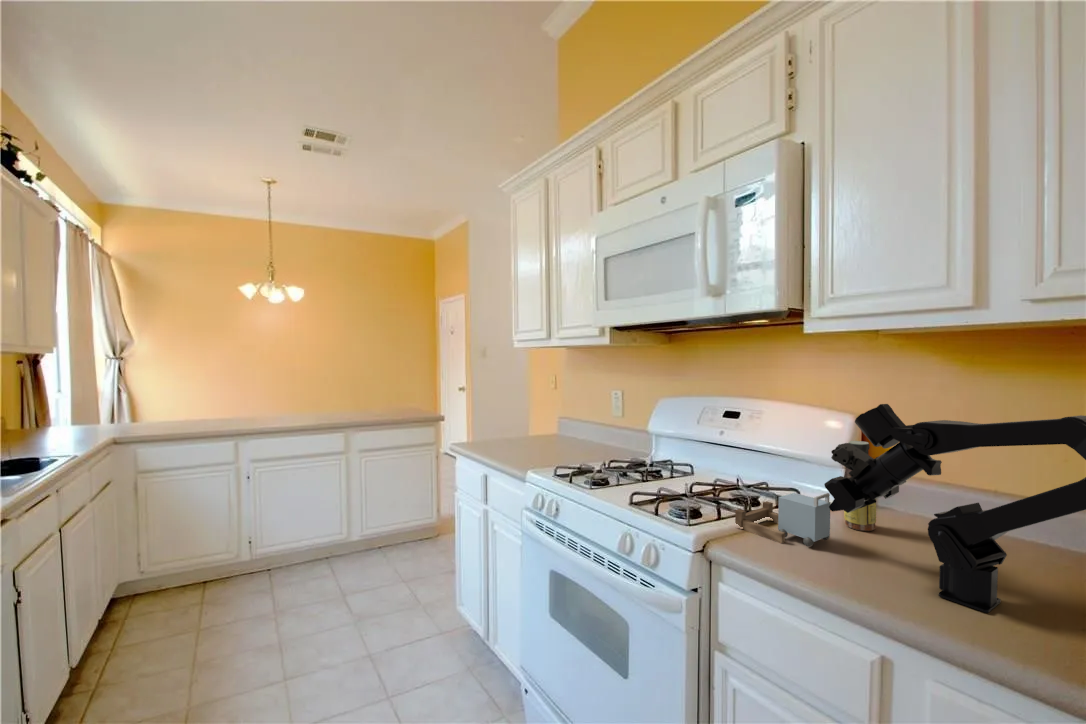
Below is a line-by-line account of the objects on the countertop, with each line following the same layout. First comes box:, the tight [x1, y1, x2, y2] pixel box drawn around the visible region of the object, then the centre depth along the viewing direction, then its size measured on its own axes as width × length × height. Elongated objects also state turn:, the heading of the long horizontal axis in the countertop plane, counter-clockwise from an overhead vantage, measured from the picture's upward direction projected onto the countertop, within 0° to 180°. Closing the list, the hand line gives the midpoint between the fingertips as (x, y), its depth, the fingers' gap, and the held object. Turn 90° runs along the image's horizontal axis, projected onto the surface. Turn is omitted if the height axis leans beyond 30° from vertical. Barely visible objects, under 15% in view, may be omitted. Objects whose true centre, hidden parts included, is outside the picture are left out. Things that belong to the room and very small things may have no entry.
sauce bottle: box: [843, 440, 877, 532], centre depth 115 cm, size 7×6×20 cm
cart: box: [777, 492, 832, 548], centre depth 108 cm, size 8×7×10 cm
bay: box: [734, 501, 786, 544], centre depth 114 cm, size 11×12×4 cm
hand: (831, 509), depth 103 cm, fingers closed
